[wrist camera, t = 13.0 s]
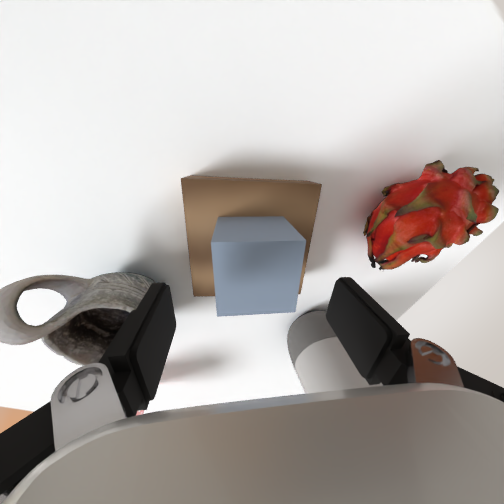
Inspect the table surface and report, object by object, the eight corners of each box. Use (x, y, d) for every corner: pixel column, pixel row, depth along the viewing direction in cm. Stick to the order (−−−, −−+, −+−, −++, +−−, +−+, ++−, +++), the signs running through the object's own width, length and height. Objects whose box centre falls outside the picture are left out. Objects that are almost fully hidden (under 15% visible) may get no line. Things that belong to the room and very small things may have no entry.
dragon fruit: (429, 163, 21) (347, 239, 27) (434, 120, 15) (325, 231, 20) (518, 207, 17) (400, 287, 22) (578, 172, 11) (394, 295, 16)
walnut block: (190, 175, 19) (180, 178, 15) (305, 180, 20) (321, 184, 16) (199, 276, 24) (193, 296, 20) (290, 275, 25) (300, 294, 21)
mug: (143, 332, 26) (97, 420, 17) (50, 278, 21) (-83, 361, 12) (191, 294, 24) (166, 371, 15) (99, 224, 19) (-16, 277, 10)
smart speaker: (271, 325, 28) (302, 457, 15) (324, 292, 26) (408, 412, 14) (302, 355, 32) (347, 480, 19) (350, 328, 30) (435, 447, 17)
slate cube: (218, 216, 17) (210, 242, 11) (283, 216, 17) (306, 240, 12) (221, 273, 19) (217, 316, 14) (278, 271, 20) (295, 312, 14)
